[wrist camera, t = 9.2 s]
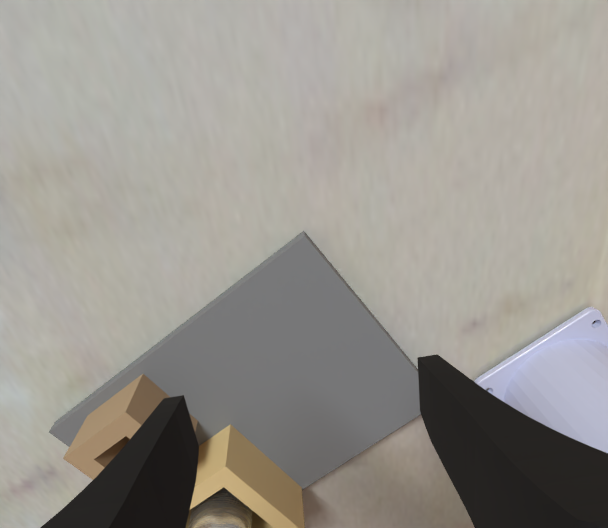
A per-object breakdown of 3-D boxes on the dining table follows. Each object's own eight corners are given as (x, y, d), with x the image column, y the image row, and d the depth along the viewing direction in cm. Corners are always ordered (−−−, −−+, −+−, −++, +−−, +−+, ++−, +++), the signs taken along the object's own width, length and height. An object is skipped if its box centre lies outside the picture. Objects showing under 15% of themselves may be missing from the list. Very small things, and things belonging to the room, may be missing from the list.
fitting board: (436, 392, 26) (462, 439, 22) (211, 537, 29) (202, 599, 25) (303, 230, 21) (310, 257, 18) (55, 421, 25) (19, 476, 21)
